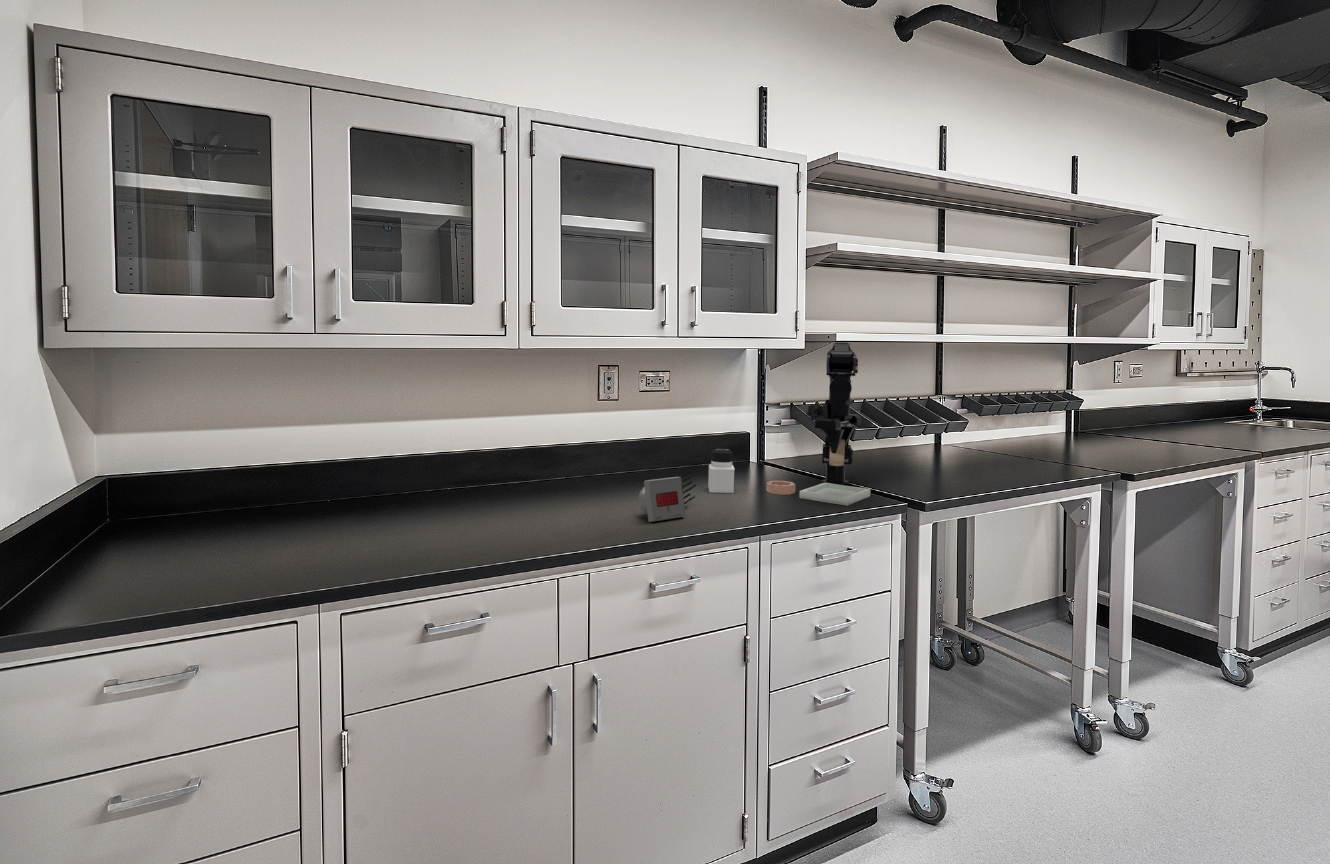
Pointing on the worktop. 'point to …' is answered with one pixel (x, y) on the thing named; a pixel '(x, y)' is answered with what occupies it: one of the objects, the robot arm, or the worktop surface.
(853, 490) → the tray
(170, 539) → the worktop surface
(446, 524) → the worktop surface
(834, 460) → the dowel
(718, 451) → the medicine bottle
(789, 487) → the cup ring
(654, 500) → the voltmeter
